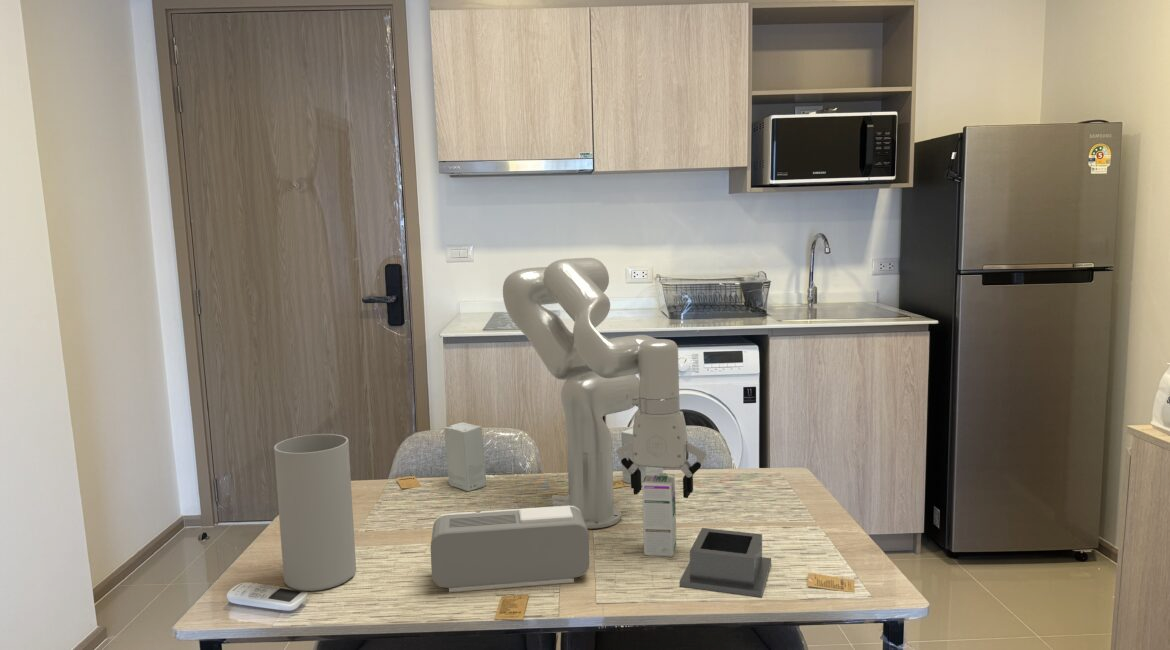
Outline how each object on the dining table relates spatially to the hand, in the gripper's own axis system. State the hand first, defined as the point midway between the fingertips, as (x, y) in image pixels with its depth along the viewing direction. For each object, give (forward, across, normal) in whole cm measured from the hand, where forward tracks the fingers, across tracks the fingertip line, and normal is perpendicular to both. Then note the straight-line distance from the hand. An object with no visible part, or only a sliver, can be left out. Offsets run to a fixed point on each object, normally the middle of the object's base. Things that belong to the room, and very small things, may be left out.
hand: (662, 494), depth 154 cm
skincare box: (+10, -55, +25) cm, 61 cm away
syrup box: (+12, -1, +1) cm, 12 cm away
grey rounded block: (+12, -24, -18) cm, 32 cm away
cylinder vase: (+11, -57, -28) cm, 64 cm away
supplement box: (+11, -15, +40) cm, 44 cm away
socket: (+12, +13, -6) cm, 19 cm away
